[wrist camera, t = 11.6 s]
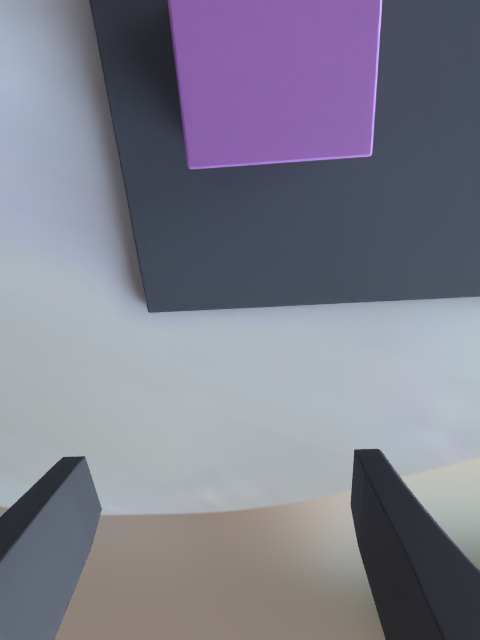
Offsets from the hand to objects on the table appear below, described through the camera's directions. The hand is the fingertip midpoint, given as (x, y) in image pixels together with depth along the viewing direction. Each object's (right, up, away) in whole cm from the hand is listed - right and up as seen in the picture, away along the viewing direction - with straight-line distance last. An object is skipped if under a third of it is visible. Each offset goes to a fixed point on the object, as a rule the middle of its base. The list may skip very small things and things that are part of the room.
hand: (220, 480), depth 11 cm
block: (+2, +13, +3) cm, 14 cm away
